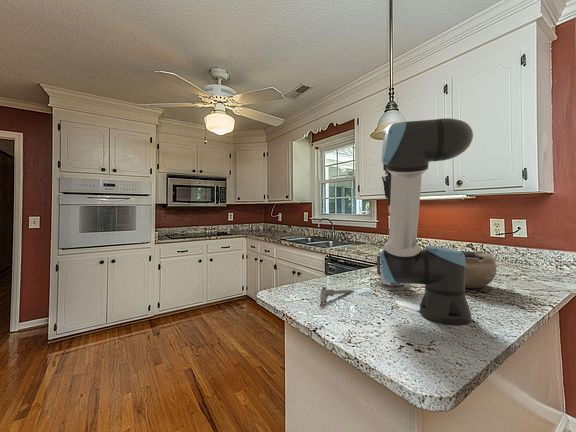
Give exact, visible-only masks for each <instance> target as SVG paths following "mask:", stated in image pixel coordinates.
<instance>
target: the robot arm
mask: <svg viewBox="0 0 576 432" xmlns="http://www.w3.org/2000/svg"><path fill="white" fill-rule="evenodd" d="M382 133H383V135H382V141H383V142H382V143H383V144H382V147H381V148H382V149H381V164H383V165H382V166H383V171H385V173H384V175H383V176H381V179H382V183H383V190H384V197H385V199H388V200H387V201H388V202H387V203H388V213H389V227H388V241H386V242H385V243H384V244H383V245H384V246H383V248H380V249H379V253H380V255H379V256H380V268H381V267H382V274H383V279H384V280H385V281H386V282H393V283H409V284H410V285H412V284H415V285H425V289H424V290H425V291H424V293H423V296H422V299H421V302H420V304H419V313H420V315H421V316H423V317H424V318H425V319H427V320H430V321H433V322H436V323H440V324H446V325H453V326H454V325H455V326H461V325H462V326H463V325H467V324H470V323H471V322H472V312H471V309H470V307H469V306H470V305H469V303H468V301H467V300H468V299H467V297H466V288H465V267H466V264H465V256H464V254H463V253H462V252H461V251H462V250H458V249H454V248H451V247H450V248H449V247H443V246H438V245H426V246H425V247H424V249H421V248H422V247H421V245H419V244H418V243H417V241H418V240H417V238H418V227H419V215H420V214H419V213H420V203H421V199H420V198H421V191H422V190H421V188H422V187H421V186H422V177H423V176H422V175H423V174H424V173H425V172H426V171H427V170H428V169H429V165H430V164H429V163H430V162H442V161H447V160H451V159H454V158H456V157H458V156H460V155H462V154H463V153H464V152H466V151H467V149H468V148H469V147H470V146H471V143H472V142H473V139H474V138H473V137H474V132H473V129H472V126H470V125H469V124H468V123H467V122H466V121H463V120H460V119H457V118H456V119H455V118H450V117H449V118H448V117H447V118H446V117H445V118H436V119H424V120H421V119H420V120H409V121H400V122H394V123H391V124H389V125H388V126H387V127H385V128H384V129H383V132H382Z"/></svg>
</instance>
